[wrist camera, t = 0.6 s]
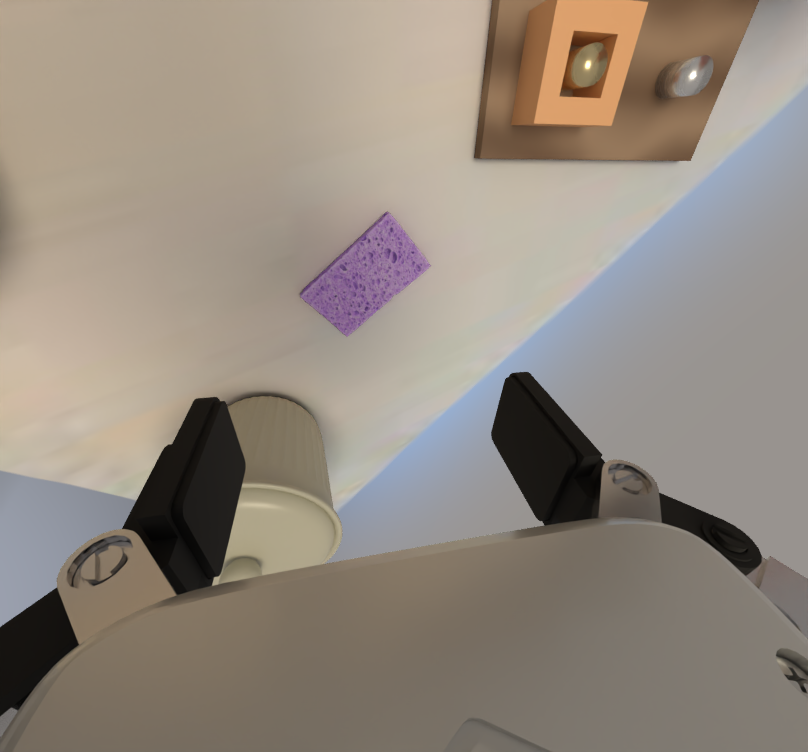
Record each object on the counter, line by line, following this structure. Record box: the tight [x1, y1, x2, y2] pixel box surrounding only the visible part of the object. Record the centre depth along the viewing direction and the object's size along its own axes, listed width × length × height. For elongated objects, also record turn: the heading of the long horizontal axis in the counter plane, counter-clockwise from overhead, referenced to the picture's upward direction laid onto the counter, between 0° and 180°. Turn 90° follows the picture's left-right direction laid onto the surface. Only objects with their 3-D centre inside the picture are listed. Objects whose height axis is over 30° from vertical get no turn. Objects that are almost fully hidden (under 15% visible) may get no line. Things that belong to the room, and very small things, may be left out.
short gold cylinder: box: [560, 42, 608, 92], centre depth 26 cm, size 2×2×4 cm
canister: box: [212, 396, 342, 586], centre depth 37 cm, size 18×18×21 cm
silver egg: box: [655, 55, 713, 99], centre depth 29 cm, size 2×2×3 cm
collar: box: [511, 0, 648, 127], centre depth 27 cm, size 7×7×4 cm
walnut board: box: [474, 0, 759, 161], centre depth 30 cm, size 12×23×2 cm, turn 89°
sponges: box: [300, 212, 431, 337], centre depth 36 cm, size 7×13×2 cm, turn 129°
